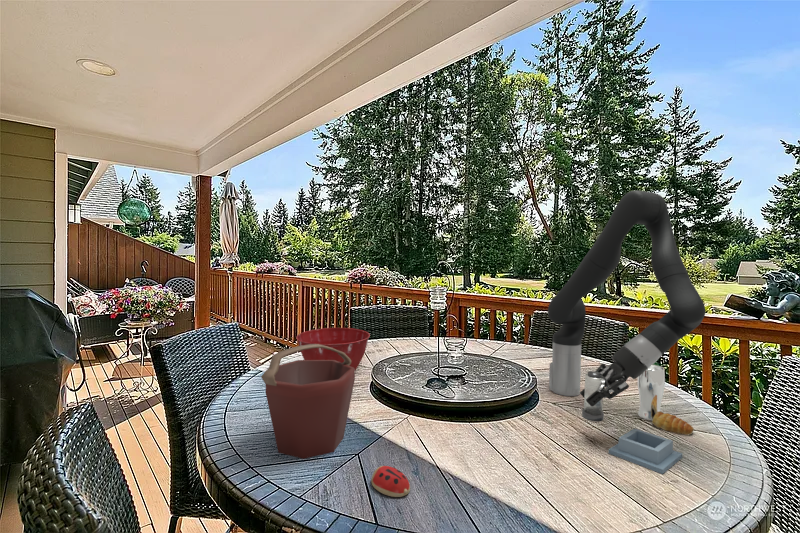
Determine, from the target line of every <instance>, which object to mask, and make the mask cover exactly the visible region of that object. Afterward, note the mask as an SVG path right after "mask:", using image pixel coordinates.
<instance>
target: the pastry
mask: <svg viewBox="0 0 800 533" xmlns="http://www.w3.org/2000/svg"><path fill="white" fill-rule="evenodd" d="M651 424H652V425H654V426H655V428H657V429H662V430H663V431H666V432H670V433H673V434H677V435H685V436H689V435H692V434H693V433H694V430H695V428H694V427H693V426H692V425H691V424H690V423H688V422H687V421H685V420H683V419H682V418H679V417H677V415H674V414H670V413H664V412H662V411H661V412H660V411H659V412H657V413H656V414H655V415H654V418H653V421H651Z"/></svg>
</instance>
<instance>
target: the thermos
mask: <svg viewBox="0 0 800 533" xmlns="http://www.w3.org/2000/svg"><path fill="white" fill-rule="evenodd" d="M595 371H596V370H595ZM595 371H593V370H589V371H588V372H587V373H586V374H585V375H584V388H585V392H584V397H583V408H582V409H581V417H582V418H583V419H585V420H587V421H589V422H597V423H598V422H603V421H604V420H605V419H604V418H605V413H604V410H603V406H604V403H603V402H604V398H602V399H601V400H600V401H599V402H598V403H597V404H595V405H594V406H590V405H589V403H588V402H587V401H586V399H587V398H588V397H589V396H590V395H592V394H593V393H594V392H595V391H597V390H598V389H599V387H600V386H601V385H602V381H603V380H604V377H603V376H601V373H599V372H595ZM597 392H598V391H597Z"/></svg>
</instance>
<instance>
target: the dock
mask: <svg viewBox="0 0 800 533" xmlns="http://www.w3.org/2000/svg"><path fill="white" fill-rule="evenodd" d="M673 449H674V440H672V439H668V438H666V437H663V436H659V435H657V434H653V433H650V432H647V431H643V430H641V429H638V428H633V429H631V430H629V431H627V432H626V433H624V434H623V435H621V436H619V437H618V443H616V444H615V445H613V446H612V447H610V448H609V449H608V452H607V454H609V455H611V456H614V457H616V458H620V459H622V460H625V461H628V462H630V463H632V464H635V465H638V466H640V467H643V468H646V469H648V470H651V471H653V472H656V473H657V474H661V475H664V474H665V473H666V472H667V471H669V470H670V468H672V467H673V466H674V465H675V464H677V463H678V462H679V461H680V460H681V459H683V456H684V455H683V453H682V452H679V451H676V450H673Z"/></svg>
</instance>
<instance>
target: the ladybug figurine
mask: <svg viewBox="0 0 800 533" xmlns="http://www.w3.org/2000/svg"><path fill="white" fill-rule="evenodd" d="M370 481H371V485H372V487H373V488H374V490H376V491H377V492H379V493H381V495H382V494H383V495H385V496H388V497H392V498H401V497H405V496H406V495H408V494H409V493H410V491H411V484H410V482H409V479H408V478H407V476H406V475H405V473H403V472H402V471H401V470H399V469H397V468H396V467H392V466H390V465H389V466H387V465H380V466H378V467H377V468H376V469H375V470H374V471H373V473H372V476H371V479H370Z"/></svg>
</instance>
